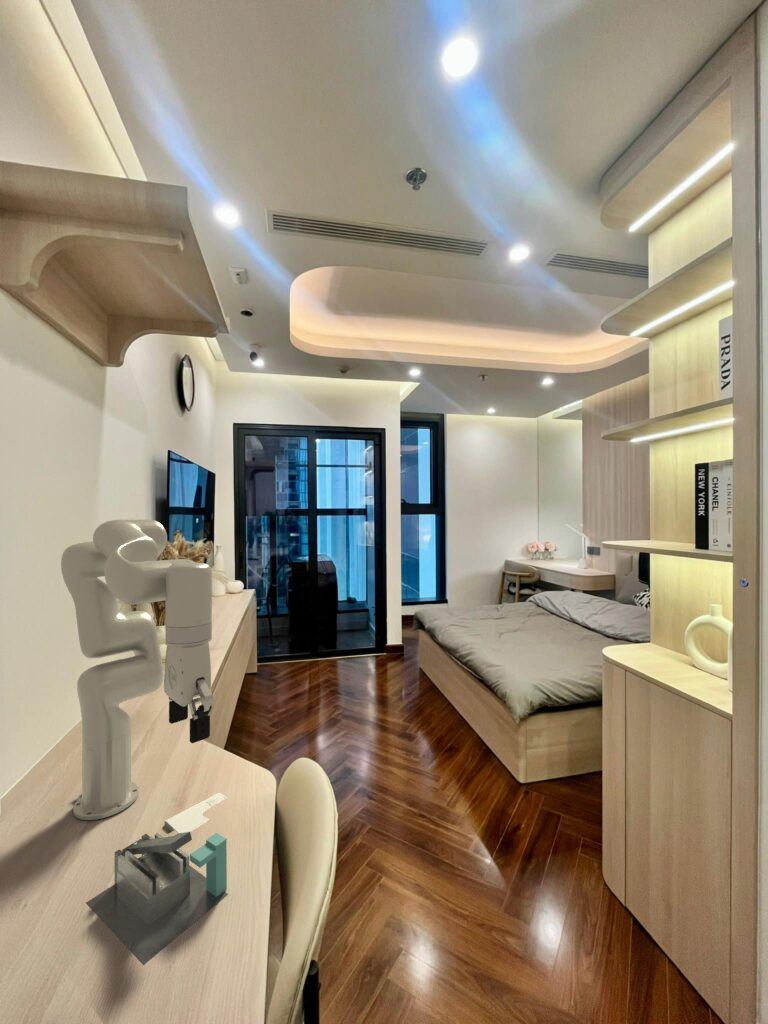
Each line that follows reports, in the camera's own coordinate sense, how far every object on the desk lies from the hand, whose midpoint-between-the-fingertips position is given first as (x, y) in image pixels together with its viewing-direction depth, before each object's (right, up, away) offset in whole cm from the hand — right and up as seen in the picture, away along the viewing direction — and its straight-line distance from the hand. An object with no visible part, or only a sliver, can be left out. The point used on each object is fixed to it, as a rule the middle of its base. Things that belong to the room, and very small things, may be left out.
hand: (188, 730), depth 77 cm
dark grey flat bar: (-4, -18, -4) cm, 19 cm away
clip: (+5, -26, -4) cm, 27 cm away
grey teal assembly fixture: (-3, -27, -4) cm, 27 cm away
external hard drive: (-5, -28, +17) cm, 33 cm away
